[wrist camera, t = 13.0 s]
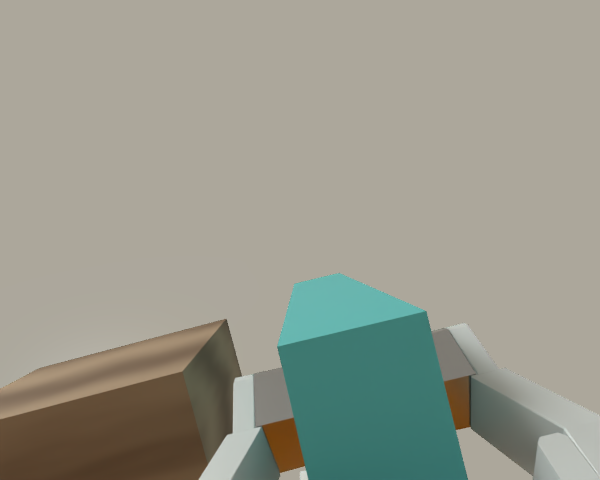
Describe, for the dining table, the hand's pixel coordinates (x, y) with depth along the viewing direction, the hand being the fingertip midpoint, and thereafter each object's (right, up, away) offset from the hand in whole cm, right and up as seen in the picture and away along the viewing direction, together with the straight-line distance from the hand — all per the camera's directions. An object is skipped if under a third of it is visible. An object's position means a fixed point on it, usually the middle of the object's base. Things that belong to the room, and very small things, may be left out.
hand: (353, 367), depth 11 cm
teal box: (+1, -3, +7) cm, 8 cm away
